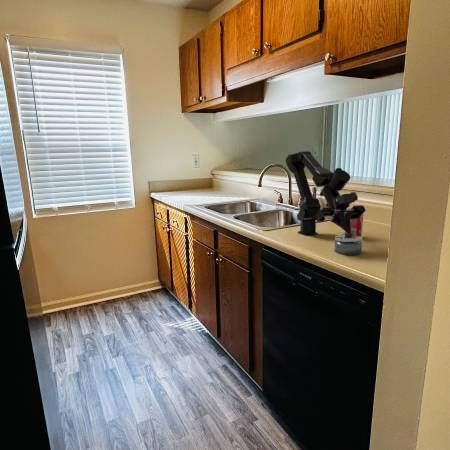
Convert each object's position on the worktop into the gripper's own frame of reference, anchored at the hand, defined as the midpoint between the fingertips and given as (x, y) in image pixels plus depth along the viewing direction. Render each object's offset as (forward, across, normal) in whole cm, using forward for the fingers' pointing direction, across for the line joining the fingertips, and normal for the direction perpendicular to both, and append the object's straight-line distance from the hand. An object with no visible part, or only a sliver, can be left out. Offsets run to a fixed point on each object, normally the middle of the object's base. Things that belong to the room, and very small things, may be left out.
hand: (349, 232), depth 123 cm
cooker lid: (+2, 0, +2) cm, 3 cm away
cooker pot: (+5, 0, +5) cm, 7 cm away
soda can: (-7, +16, +18) cm, 25 cm away
